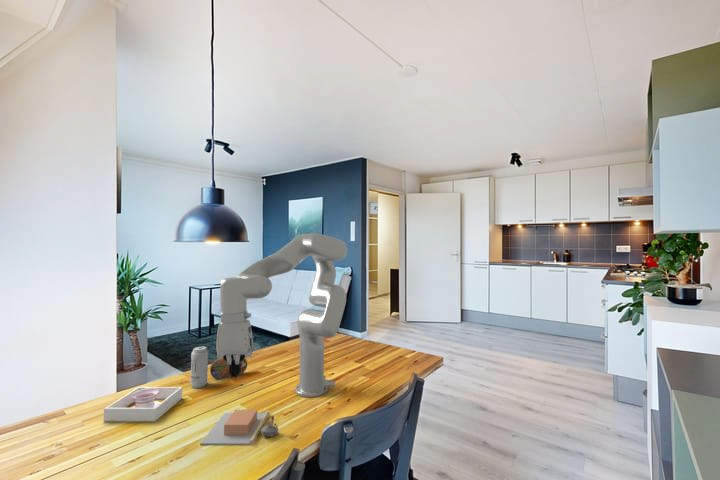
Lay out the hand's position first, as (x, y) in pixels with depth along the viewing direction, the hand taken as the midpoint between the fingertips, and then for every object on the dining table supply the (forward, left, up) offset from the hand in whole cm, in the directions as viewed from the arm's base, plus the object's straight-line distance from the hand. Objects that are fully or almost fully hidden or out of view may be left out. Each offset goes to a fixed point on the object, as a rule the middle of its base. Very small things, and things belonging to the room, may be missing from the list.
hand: (235, 375), depth 100 cm
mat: (-1, +1, -16) cm, 16 cm away
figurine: (-12, +4, -16) cm, 21 cm away
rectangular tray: (+34, -11, -16) cm, 40 cm away
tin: (+18, -40, -16) cm, 47 cm away
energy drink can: (+26, -30, -16) cm, 43 cm away
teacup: (+34, -10, -16) cm, 39 cm away
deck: (+1, +1, -14) cm, 14 cm away
